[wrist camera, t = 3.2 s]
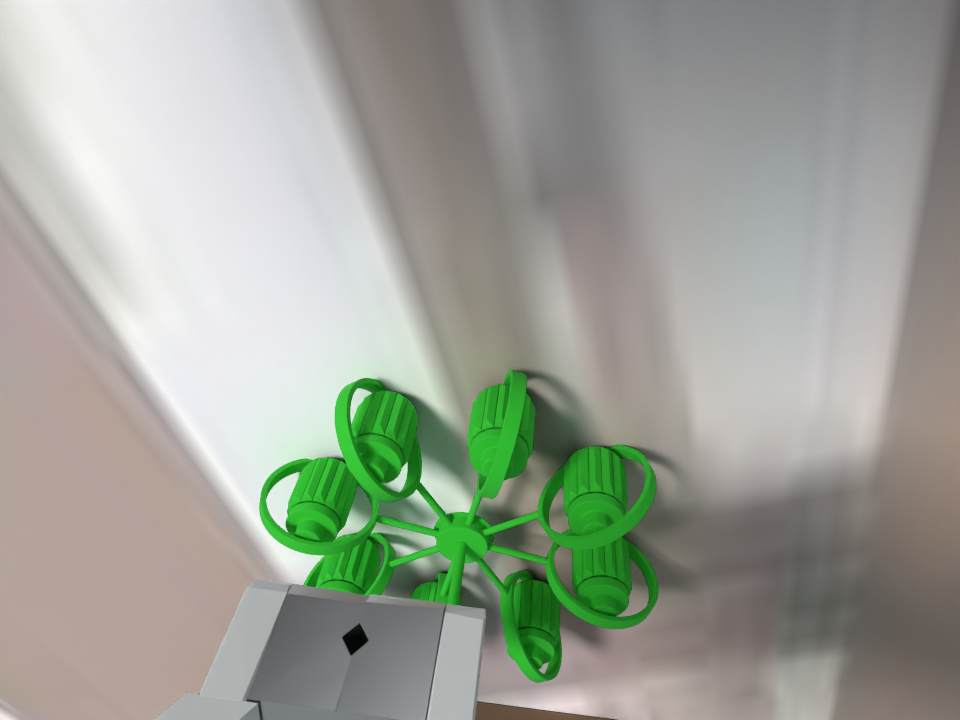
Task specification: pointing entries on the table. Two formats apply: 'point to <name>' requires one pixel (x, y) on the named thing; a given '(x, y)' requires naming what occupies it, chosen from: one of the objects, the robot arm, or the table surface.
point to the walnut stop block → (522, 713)
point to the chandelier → (472, 517)
